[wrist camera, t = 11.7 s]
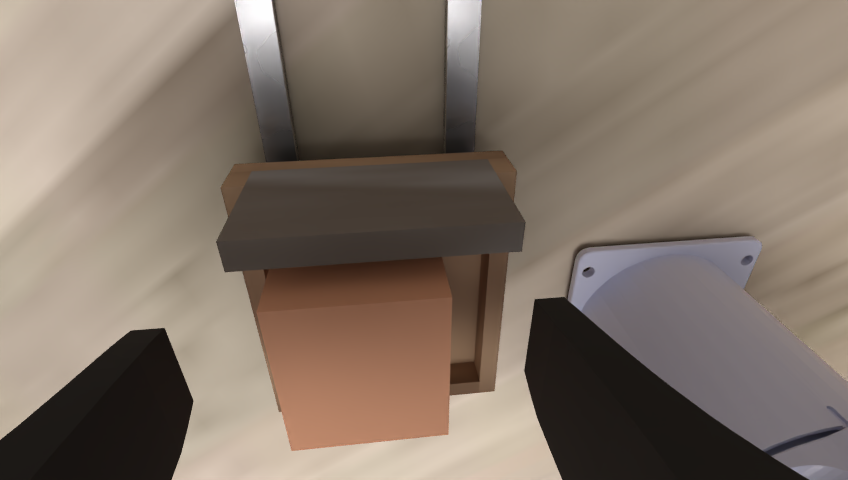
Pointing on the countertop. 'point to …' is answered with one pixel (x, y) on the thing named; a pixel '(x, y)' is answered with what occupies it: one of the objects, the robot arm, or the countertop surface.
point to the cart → (386, 232)
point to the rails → (273, 92)
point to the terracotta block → (359, 350)
